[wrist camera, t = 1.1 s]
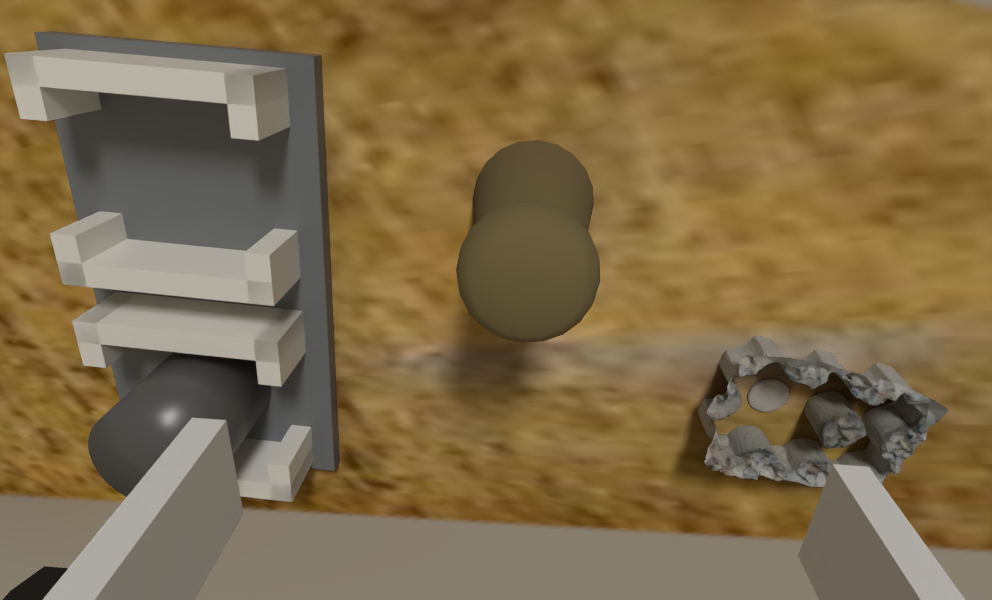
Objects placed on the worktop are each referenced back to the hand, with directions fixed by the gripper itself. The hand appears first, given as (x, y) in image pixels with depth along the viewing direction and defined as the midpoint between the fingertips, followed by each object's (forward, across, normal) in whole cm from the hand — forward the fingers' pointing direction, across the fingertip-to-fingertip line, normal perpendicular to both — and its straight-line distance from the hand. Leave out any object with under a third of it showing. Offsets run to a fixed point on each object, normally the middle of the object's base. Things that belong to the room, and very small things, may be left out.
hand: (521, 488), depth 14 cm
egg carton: (+19, -16, +10) cm, 27 cm away
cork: (+20, 0, -1) cm, 20 cm away
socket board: (+20, +17, +5) cm, 26 cm away
